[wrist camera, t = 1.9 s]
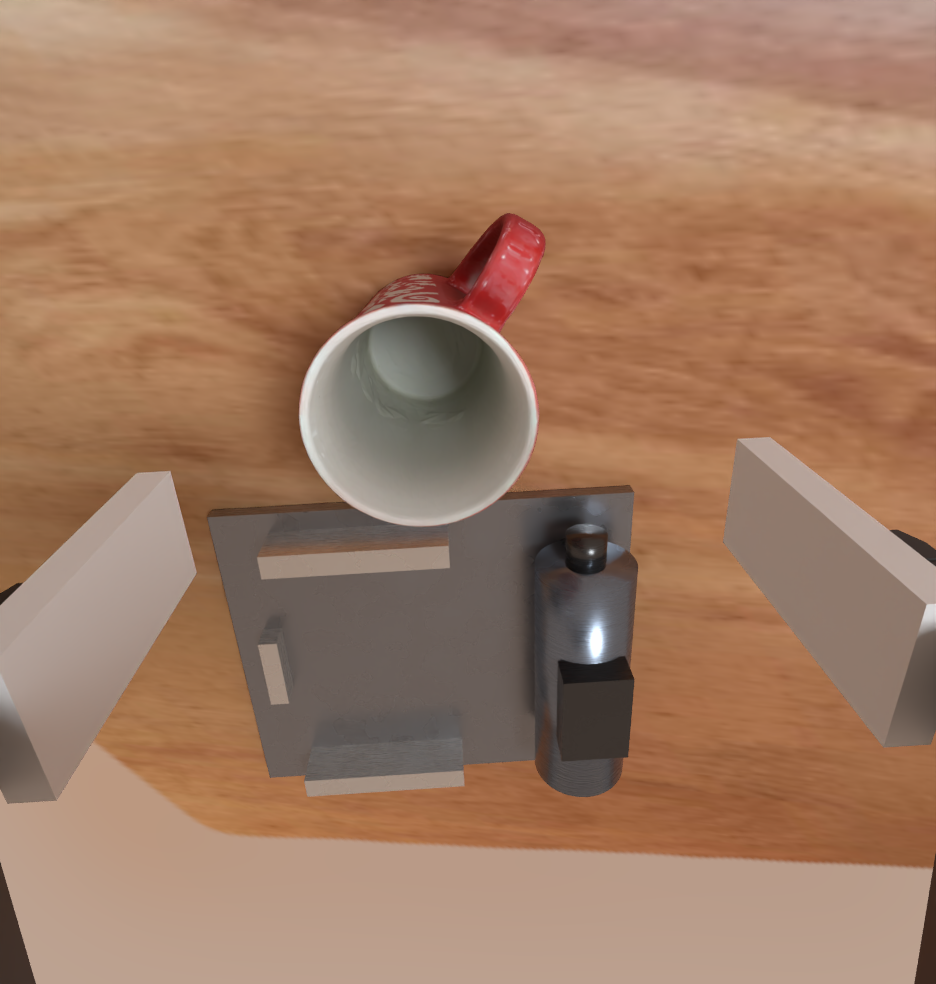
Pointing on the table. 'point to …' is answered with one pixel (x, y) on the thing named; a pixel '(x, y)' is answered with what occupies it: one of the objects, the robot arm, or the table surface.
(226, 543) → the plate
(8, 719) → the robot arm
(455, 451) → the mug
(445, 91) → the table surface
